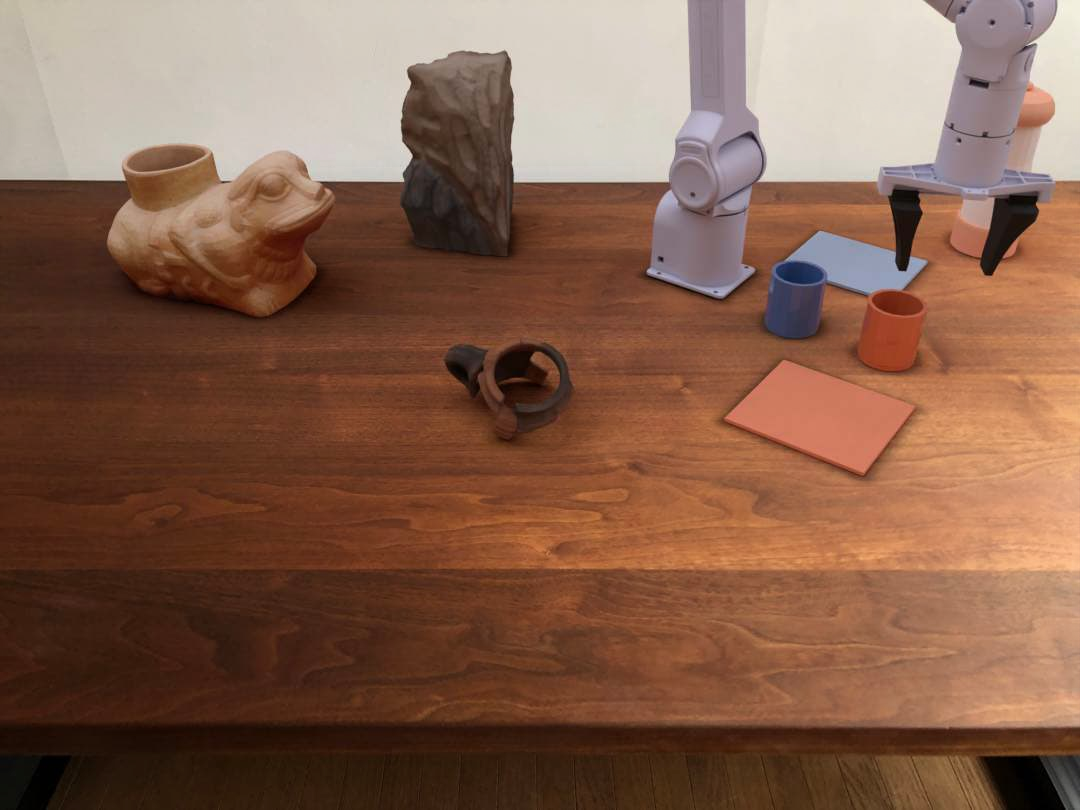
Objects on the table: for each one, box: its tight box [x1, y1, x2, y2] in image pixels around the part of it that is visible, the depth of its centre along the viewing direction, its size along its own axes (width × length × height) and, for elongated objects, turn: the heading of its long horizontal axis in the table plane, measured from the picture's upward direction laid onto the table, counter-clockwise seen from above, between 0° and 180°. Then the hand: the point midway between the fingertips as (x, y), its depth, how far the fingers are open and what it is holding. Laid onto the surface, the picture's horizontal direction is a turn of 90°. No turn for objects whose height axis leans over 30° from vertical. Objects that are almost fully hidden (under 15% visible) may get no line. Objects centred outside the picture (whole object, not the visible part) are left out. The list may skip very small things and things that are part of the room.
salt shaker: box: [949, 80, 1056, 259], centre depth 117 cm, size 7×7×19 cm
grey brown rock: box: [399, 49, 515, 257], centre depth 120 cm, size 13×13×20 cm
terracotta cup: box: [856, 289, 929, 373], centre depth 101 cm, size 5×5×6 cm
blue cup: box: [763, 260, 828, 340], centre depth 106 cm, size 5×5×6 cm
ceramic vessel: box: [106, 142, 336, 318], centre depth 110 cm, size 14×26×15 cm, turn 71°
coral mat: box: [723, 359, 916, 477], centre depth 95 cm, size 13×12×1 cm
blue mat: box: [784, 230, 929, 297], centre depth 118 cm, size 13×11×1 cm
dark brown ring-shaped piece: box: [443, 337, 576, 441], centre depth 94 cm, size 12×10×8 cm
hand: (943, 268), depth 97 cm, fingers open, 7 cm apart
